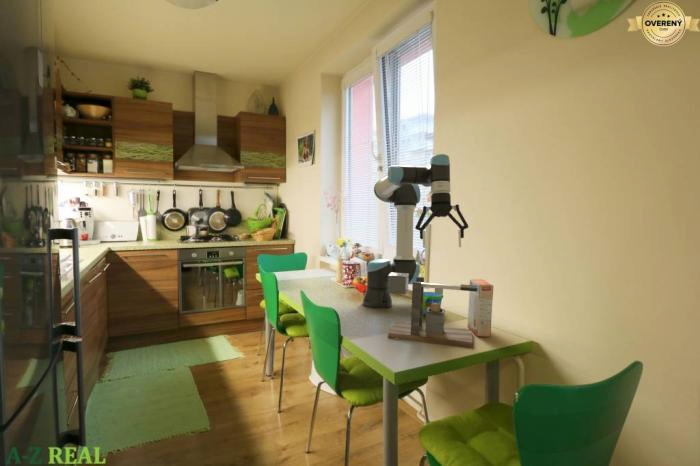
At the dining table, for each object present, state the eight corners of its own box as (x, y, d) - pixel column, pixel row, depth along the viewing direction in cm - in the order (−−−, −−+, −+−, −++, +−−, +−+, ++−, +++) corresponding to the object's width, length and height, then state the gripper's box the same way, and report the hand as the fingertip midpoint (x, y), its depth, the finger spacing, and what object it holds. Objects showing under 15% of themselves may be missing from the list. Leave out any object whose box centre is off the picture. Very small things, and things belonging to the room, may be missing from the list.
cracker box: (491, 337, 153) (494, 285, 152) (476, 337, 153) (478, 284, 152) (481, 327, 167) (483, 278, 166) (467, 326, 167) (469, 278, 166)
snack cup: (431, 310, 193) (431, 289, 193) (449, 314, 186) (450, 293, 185) (411, 315, 183) (412, 293, 182) (430, 320, 175) (431, 298, 174)
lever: (391, 288, 161) (392, 272, 160) (476, 295, 152) (477, 278, 151) (387, 293, 152) (387, 275, 151) (477, 301, 143) (477, 282, 142)
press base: (395, 326, 165) (396, 274, 163) (471, 334, 156) (473, 280, 155) (387, 337, 149) (389, 281, 148) (472, 347, 141) (475, 287, 139)
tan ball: (430, 311, 154) (431, 301, 154) (440, 312, 153) (441, 302, 153) (429, 313, 150) (430, 303, 150) (440, 314, 149) (440, 304, 149)
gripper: (407, 193, 154) (408, 247, 152) (473, 189, 146) (475, 245, 144) (410, 197, 161) (411, 248, 159) (473, 193, 154) (475, 247, 151)
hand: (441, 247), depth 152 cm, fingers open, 13 cm apart
